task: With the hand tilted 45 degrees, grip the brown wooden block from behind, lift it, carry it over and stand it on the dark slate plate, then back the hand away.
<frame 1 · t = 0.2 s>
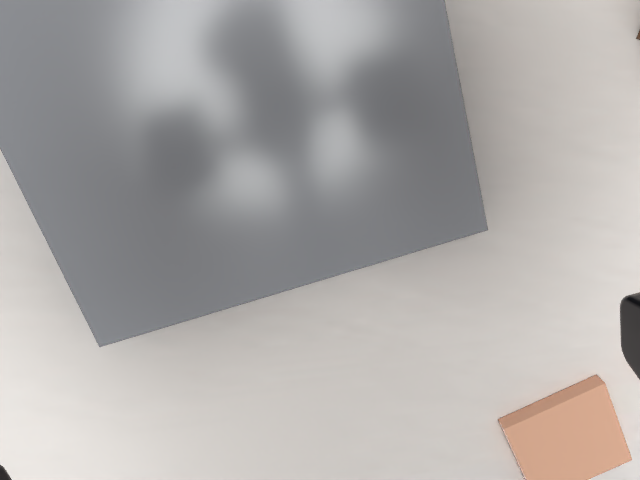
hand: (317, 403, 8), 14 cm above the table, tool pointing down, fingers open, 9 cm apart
tile a: (557, 428, 27), on the table
slate plate: (226, 85, 20), on the table
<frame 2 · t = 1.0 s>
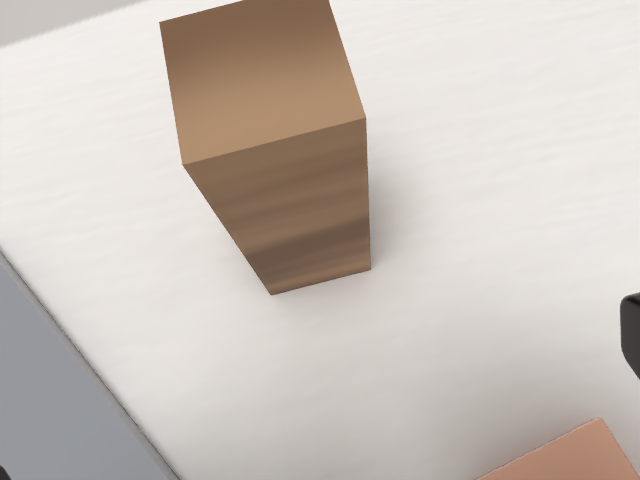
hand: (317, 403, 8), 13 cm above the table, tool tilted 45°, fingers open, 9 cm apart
brown wooden block: (309, 236, 23), on the table
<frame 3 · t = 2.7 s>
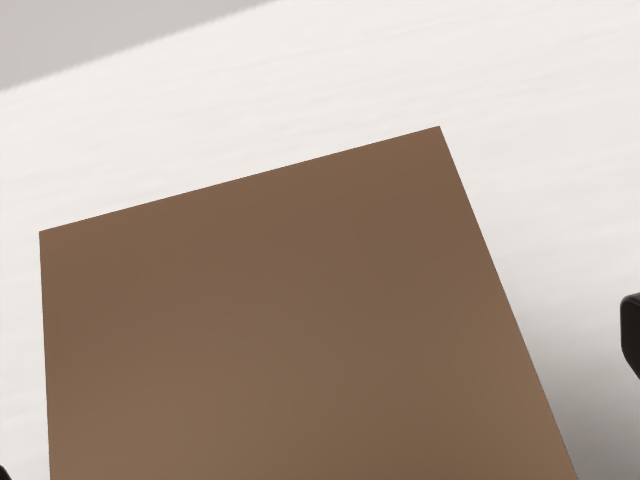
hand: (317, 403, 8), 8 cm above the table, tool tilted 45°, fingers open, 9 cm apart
brown wooden block: (347, 435, 15), on the table
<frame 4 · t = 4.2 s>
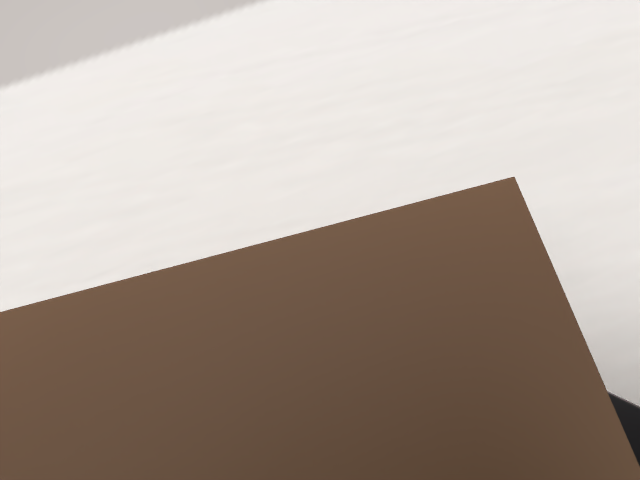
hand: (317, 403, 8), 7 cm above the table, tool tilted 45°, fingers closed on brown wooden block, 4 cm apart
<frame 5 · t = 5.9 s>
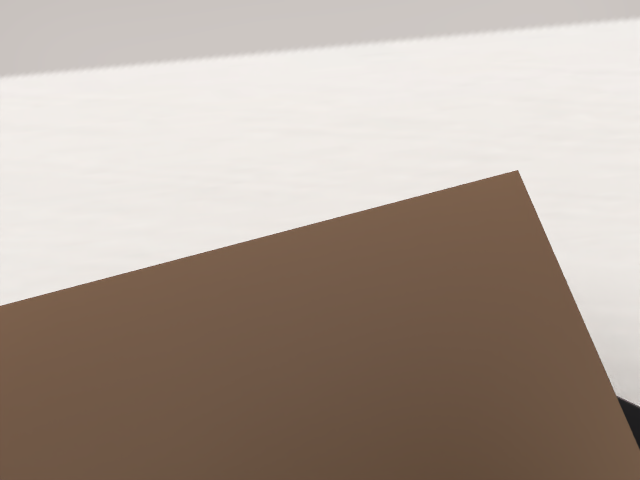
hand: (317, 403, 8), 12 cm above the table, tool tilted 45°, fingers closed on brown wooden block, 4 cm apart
when the fingers open (8 cm above the table, at t = 7.9 s): brown wooden block stays where it is, resting on slate plate.
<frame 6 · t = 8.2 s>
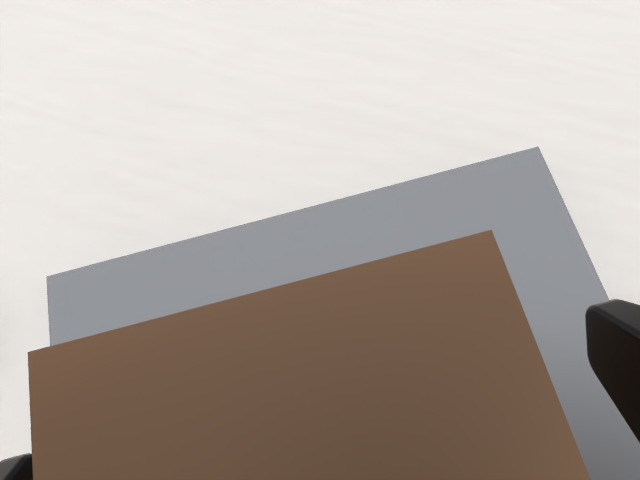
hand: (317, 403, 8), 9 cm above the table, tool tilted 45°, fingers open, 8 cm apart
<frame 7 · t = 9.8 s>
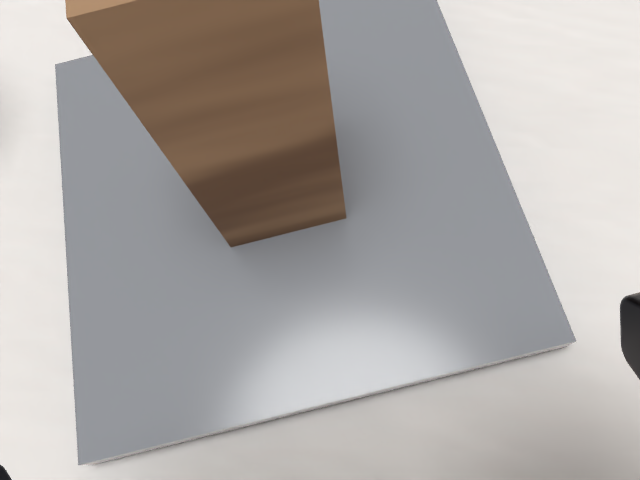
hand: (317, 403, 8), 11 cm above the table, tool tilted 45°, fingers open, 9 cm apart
slate plate: (281, 193, 21), on the table
brown wooden block: (276, 181, 20), point 1 cm above the table, touching slate plate
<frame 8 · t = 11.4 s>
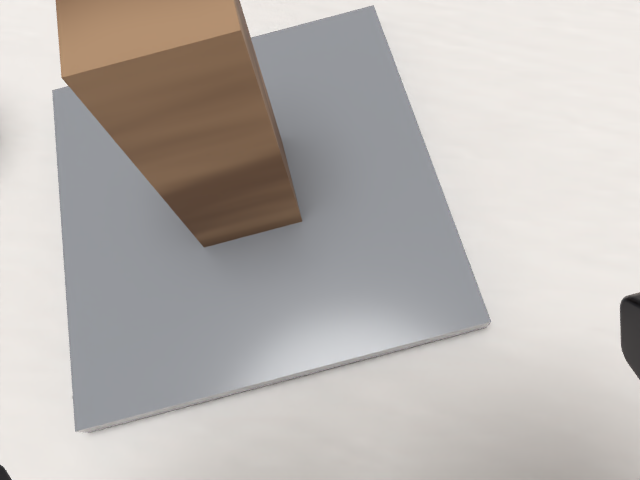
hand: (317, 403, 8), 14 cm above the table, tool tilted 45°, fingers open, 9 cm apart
slate plate: (248, 201, 24), on the table
brown wooden block: (243, 190, 23), point 1 cm above the table, touching slate plate
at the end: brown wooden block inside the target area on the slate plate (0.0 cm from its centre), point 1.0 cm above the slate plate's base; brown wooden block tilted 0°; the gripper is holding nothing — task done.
